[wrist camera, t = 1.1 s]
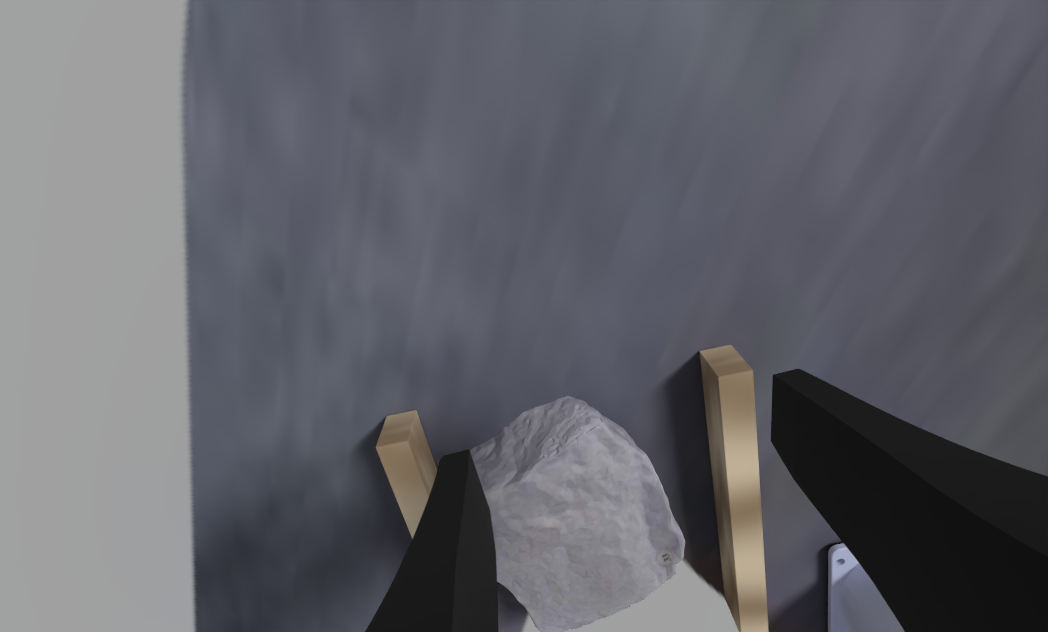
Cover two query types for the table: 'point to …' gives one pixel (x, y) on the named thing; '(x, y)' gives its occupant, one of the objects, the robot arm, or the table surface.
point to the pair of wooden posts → (731, 475)
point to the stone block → (575, 515)
